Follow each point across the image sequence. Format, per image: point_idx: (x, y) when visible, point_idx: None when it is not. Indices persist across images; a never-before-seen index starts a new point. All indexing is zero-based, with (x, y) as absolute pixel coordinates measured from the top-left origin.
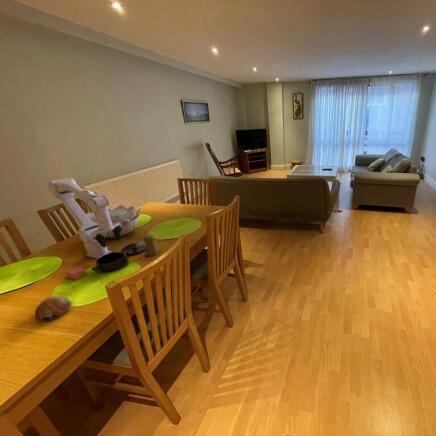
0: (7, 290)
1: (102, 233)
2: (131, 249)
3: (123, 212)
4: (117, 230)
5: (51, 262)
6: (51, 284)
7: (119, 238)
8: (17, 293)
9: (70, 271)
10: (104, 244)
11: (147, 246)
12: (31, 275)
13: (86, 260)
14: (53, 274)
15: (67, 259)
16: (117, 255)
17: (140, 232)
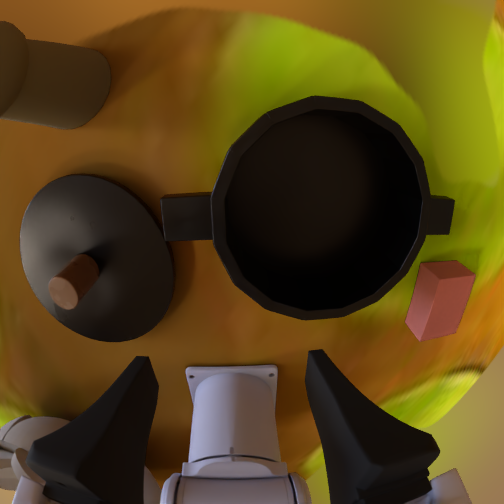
0: (475, 380)
1: (192, 496)
2: (110, 270)
3: None
4: (94, 466)
5: None
6: (472, 315)
7: (130, 370)
8: (493, 346)
9: (453, 319)
10: (333, 372)
11: (57, 62)
12: (415, 416)
13: (304, 391)
14: (415, 380)
15: (314, 439)
16: (239, 254)
17: (21, 384)
